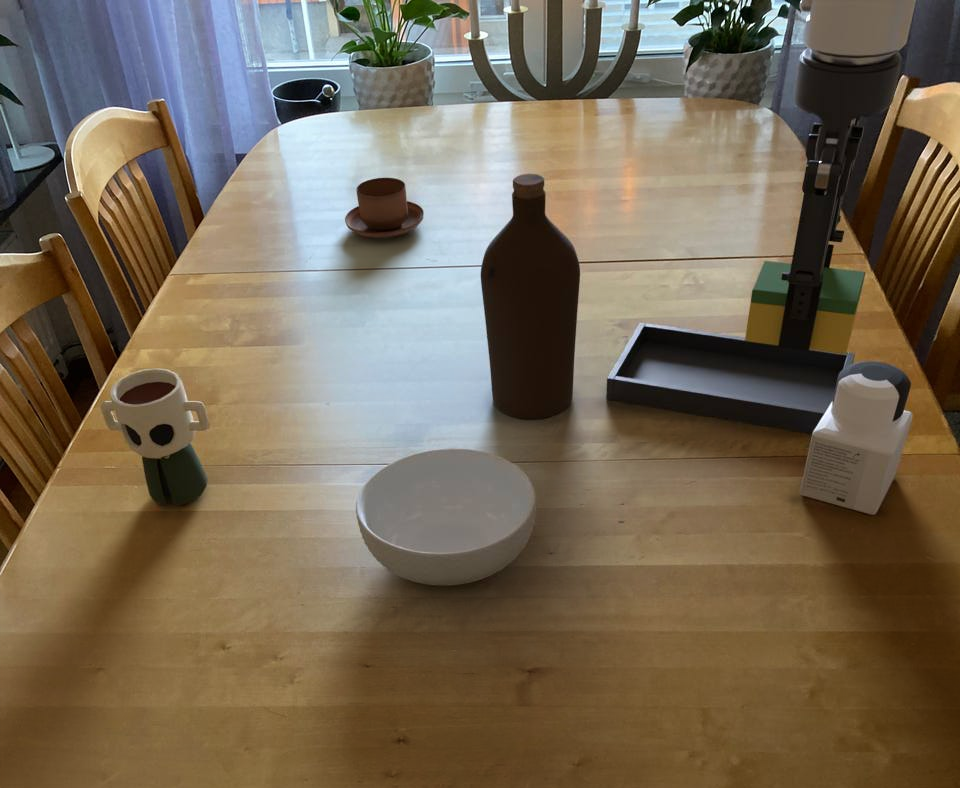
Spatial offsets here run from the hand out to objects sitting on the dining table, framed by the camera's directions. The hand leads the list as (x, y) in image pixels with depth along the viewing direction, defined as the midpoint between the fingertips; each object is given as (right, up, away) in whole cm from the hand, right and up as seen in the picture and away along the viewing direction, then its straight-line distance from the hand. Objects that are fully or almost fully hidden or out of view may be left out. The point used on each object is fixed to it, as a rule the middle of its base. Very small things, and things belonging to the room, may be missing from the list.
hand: (799, 328), depth 93 cm
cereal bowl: (-32, -21, +6) cm, 39 cm away
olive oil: (-23, -1, +25) cm, 34 cm away
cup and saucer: (-44, +34, +61) cm, 82 cm away
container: (+8, -13, +10) cm, 19 cm away
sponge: (0, 0, 0) cm, 0 cm away
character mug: (-62, -13, +16) cm, 65 cm away
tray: (-1, +1, +24) cm, 24 cm away
